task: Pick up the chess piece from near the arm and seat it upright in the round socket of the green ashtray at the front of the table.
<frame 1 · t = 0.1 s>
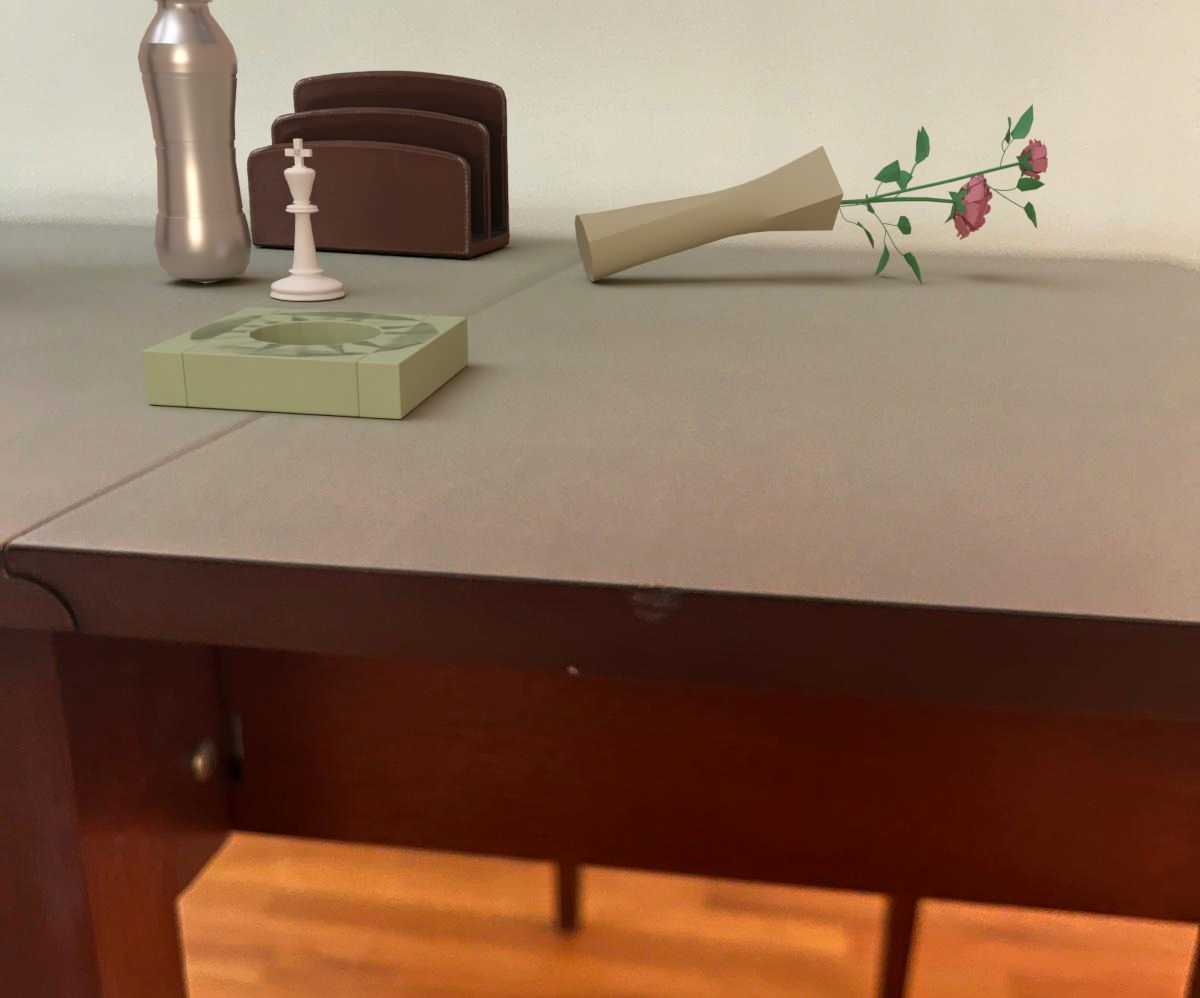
chess piece: (307, 298, 89), on the table
flower vase: (803, 282, 100), on the table
metallic bottle: (207, 284, 94), on the table
letter holder: (383, 249, 114), on the table
green ashtray: (319, 383, 65), on the table
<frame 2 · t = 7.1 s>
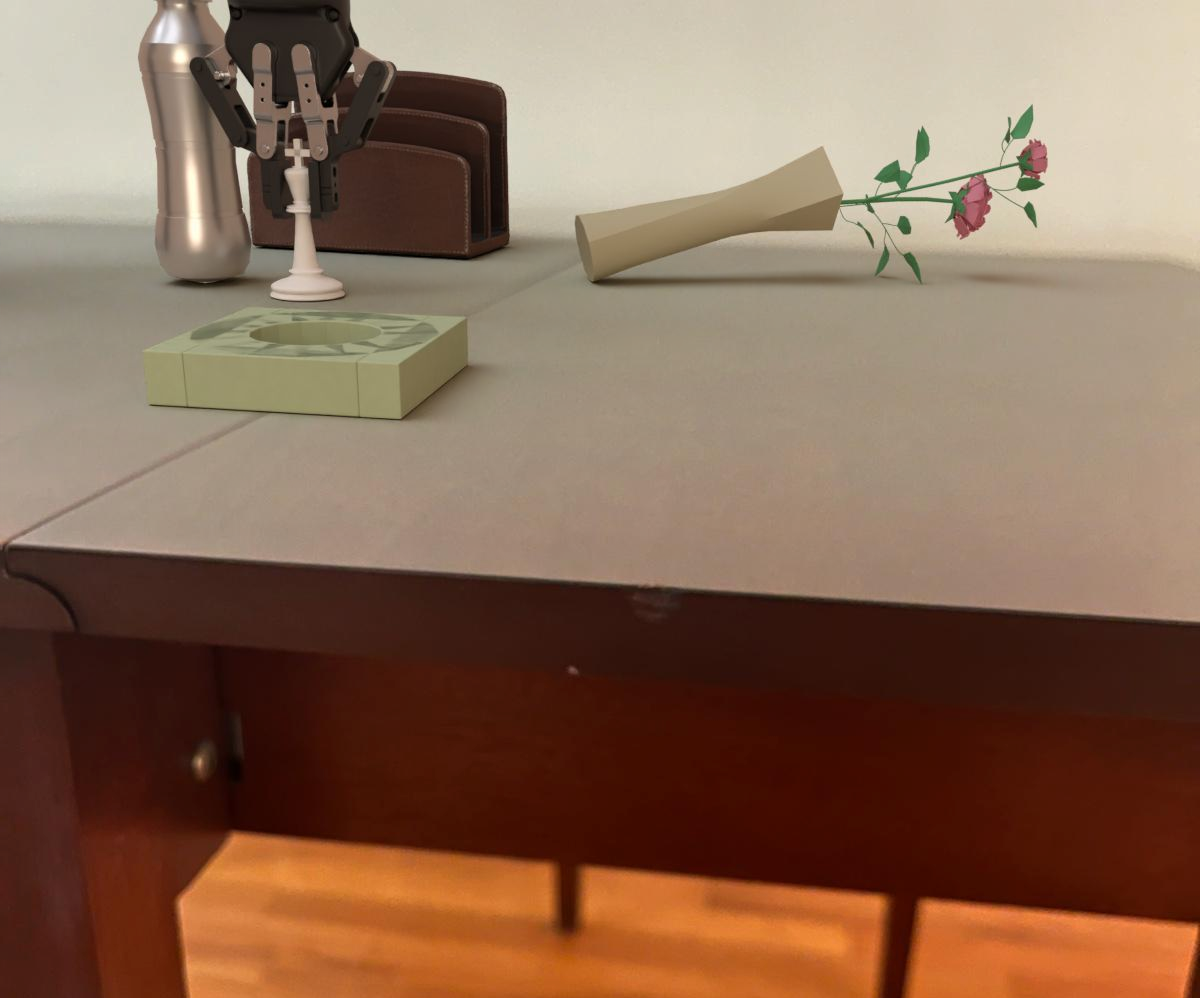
hand: (303, 217, 87), 5 cm above the table, tool pointing down, fingers closed on chess piece
chess piece: (308, 298, 89), on the table, touching gripper
everything else where it was.
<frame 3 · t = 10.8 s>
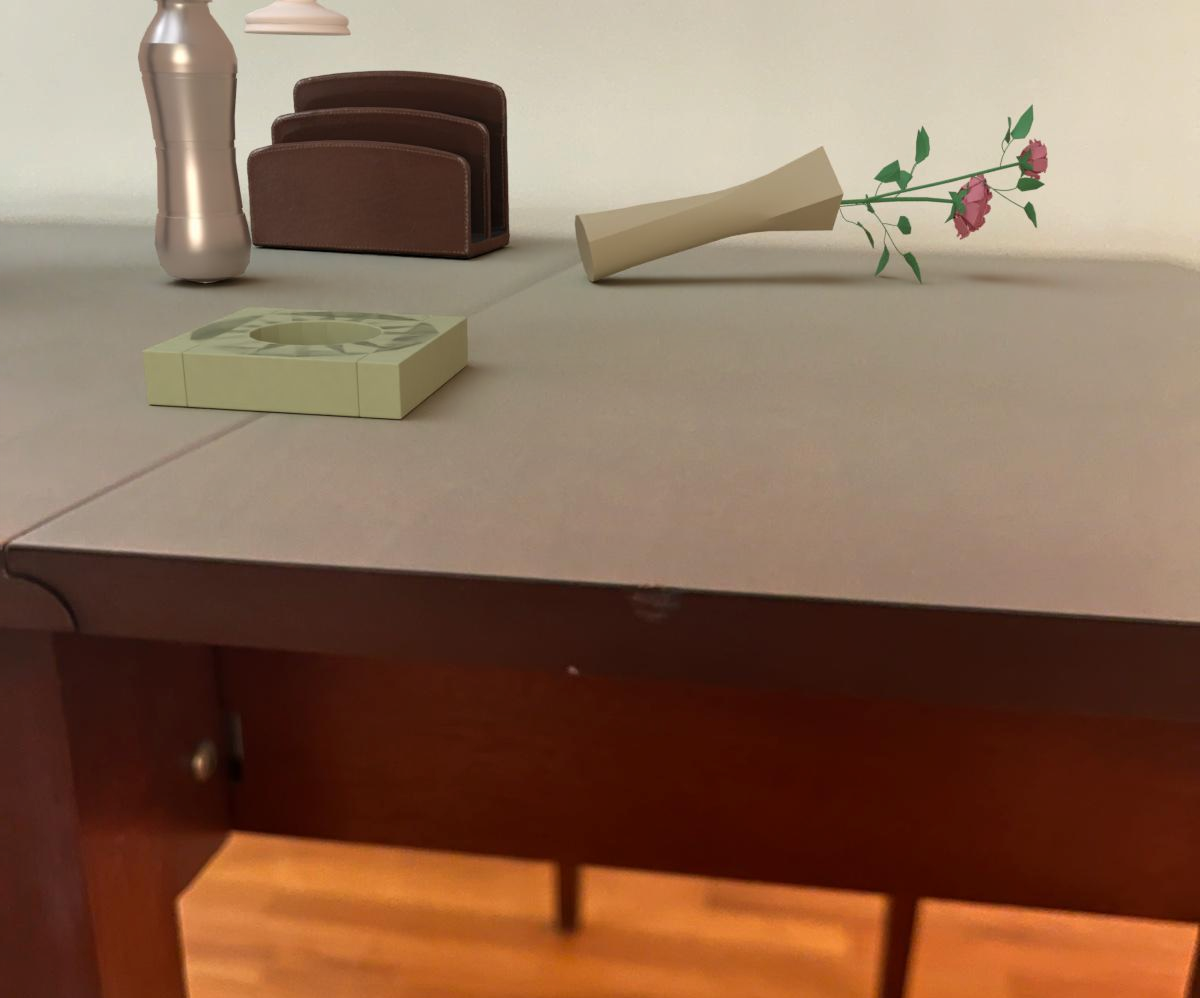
chess piece: (298, 38, 62), point 16 cm above the table, touching gripper
everything else where it was.
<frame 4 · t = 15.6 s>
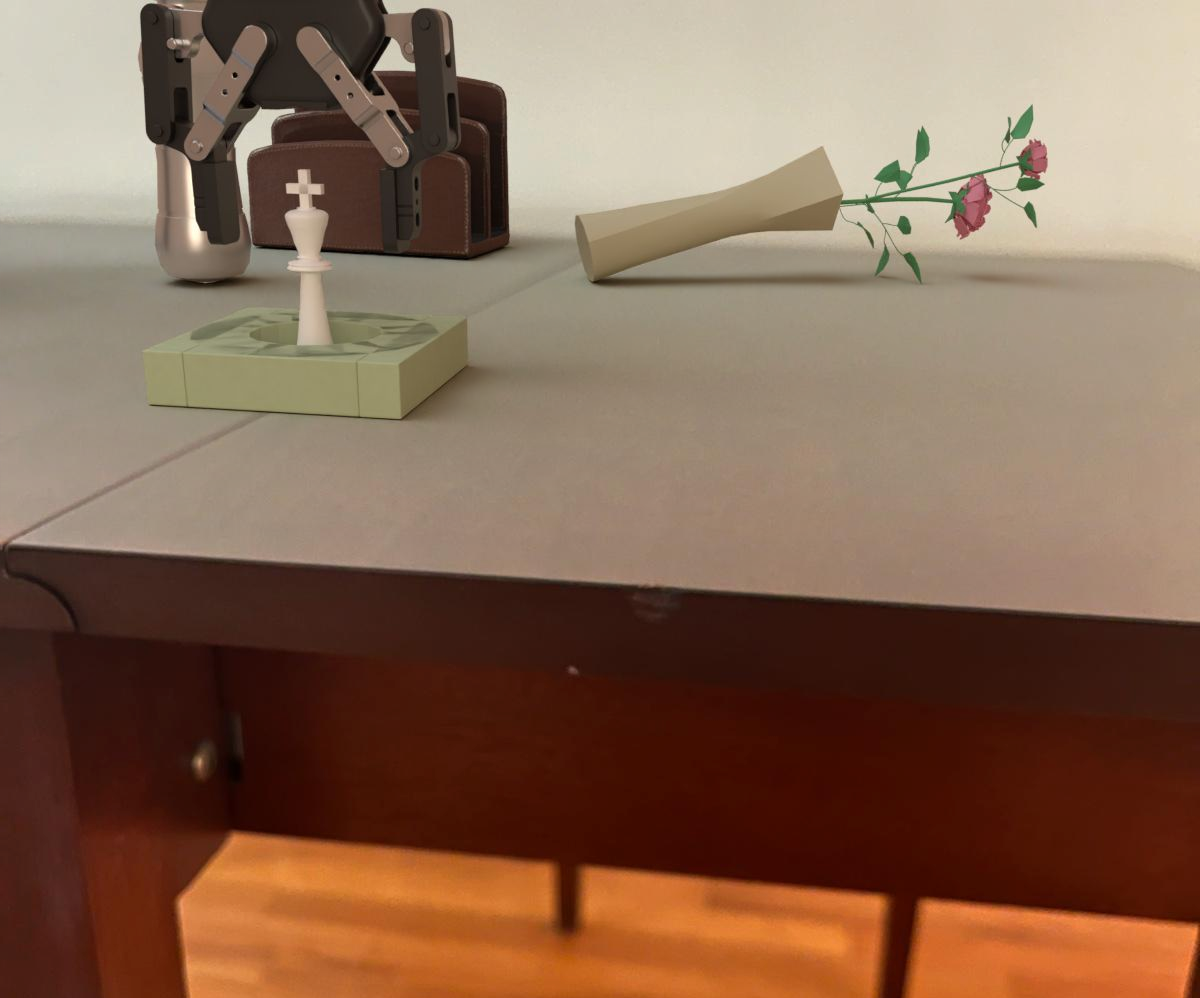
hand: (310, 247, 63), 7 cm above the table, tool pointing down, fingers open, 8 cm apart
chess piece: (317, 386, 65), resting in green ashtray
everything else where it was.
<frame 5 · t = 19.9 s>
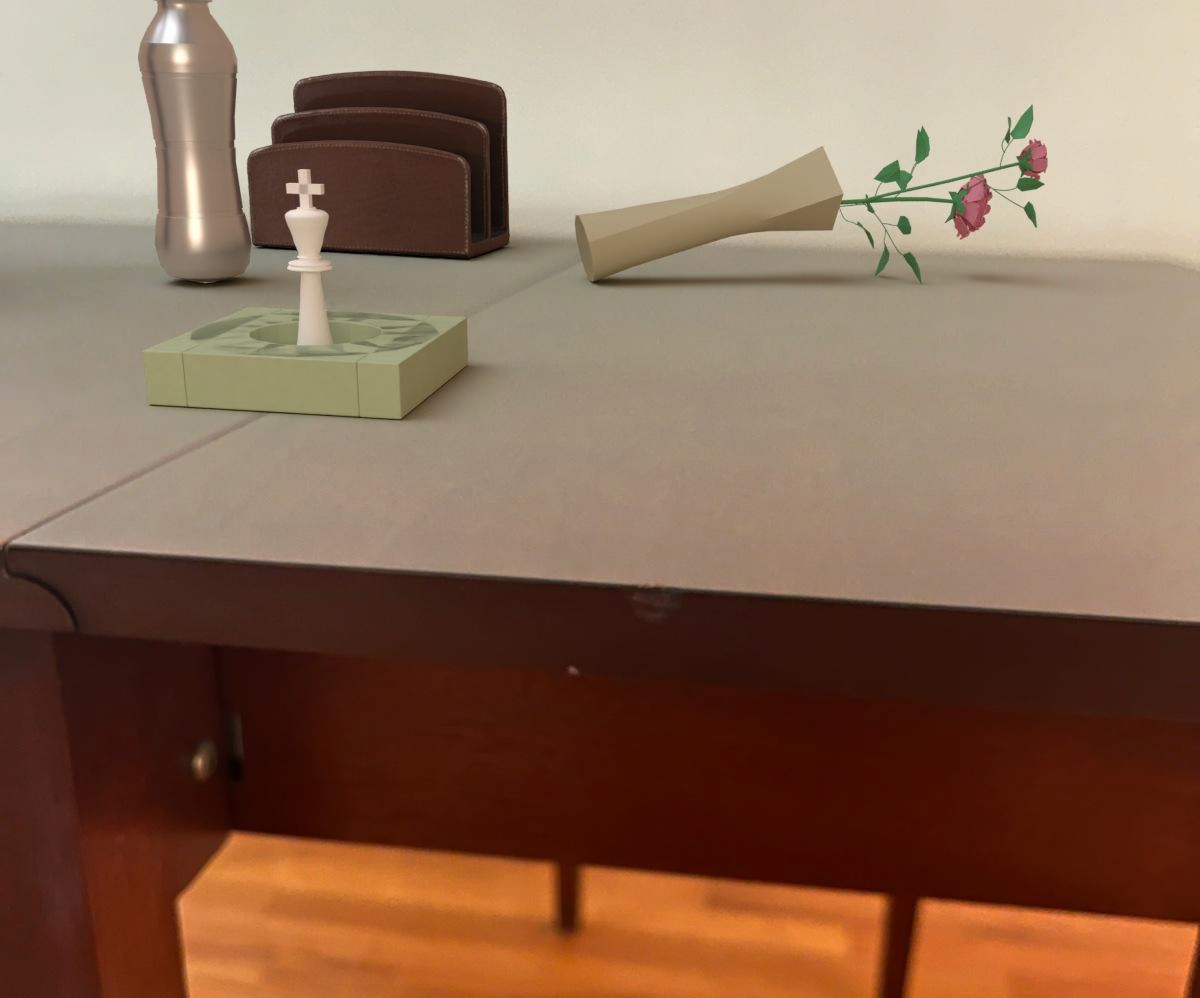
nothing on the table moved.
at the end: chess piece 0.1 cm off-centre in the green ashtray, point 0.0 cm above the green ashtray's base; chess piece tilted 0° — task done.
